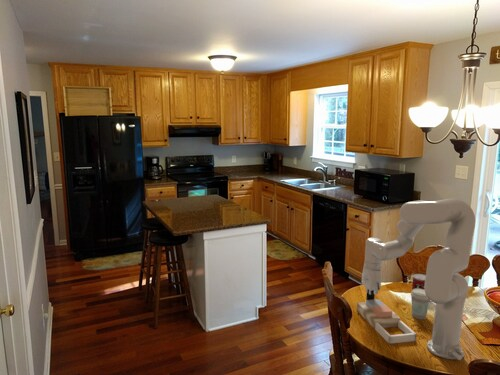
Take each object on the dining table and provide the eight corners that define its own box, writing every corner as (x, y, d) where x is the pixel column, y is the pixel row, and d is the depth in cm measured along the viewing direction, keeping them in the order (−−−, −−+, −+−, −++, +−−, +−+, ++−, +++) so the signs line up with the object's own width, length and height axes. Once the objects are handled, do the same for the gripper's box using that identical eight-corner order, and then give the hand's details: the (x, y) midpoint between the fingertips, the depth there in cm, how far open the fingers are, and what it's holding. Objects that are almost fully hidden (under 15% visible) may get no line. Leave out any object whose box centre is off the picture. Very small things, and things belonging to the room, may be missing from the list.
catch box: (415, 340, 155) (416, 334, 154) (389, 343, 153) (389, 336, 152) (400, 326, 166) (400, 320, 165) (375, 329, 163) (375, 322, 163)
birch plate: (399, 326, 166) (400, 317, 165) (374, 328, 164) (375, 320, 163) (379, 308, 182) (380, 300, 181) (356, 310, 180) (357, 302, 179)
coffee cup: (404, 314, 177) (406, 290, 175) (417, 310, 181) (419, 286, 179) (420, 322, 169) (422, 297, 167) (433, 318, 173) (435, 293, 171)
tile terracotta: (392, 316, 166) (392, 311, 166) (379, 317, 165) (379, 312, 165) (384, 310, 172) (385, 304, 172) (372, 311, 171) (372, 306, 171)
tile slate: (384, 310, 172) (385, 304, 172) (372, 311, 171) (372, 306, 171) (377, 304, 178) (378, 299, 178) (366, 305, 177) (366, 300, 176)
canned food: (409, 297, 195) (410, 276, 193) (414, 292, 200) (416, 272, 199) (424, 301, 190) (426, 281, 188) (429, 296, 195) (431, 276, 194)
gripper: (357, 259, 182) (355, 295, 186) (373, 271, 168) (370, 309, 171) (372, 258, 184) (369, 293, 187) (388, 270, 169) (385, 308, 172)
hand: (370, 301), depth 179 cm, fingers closed
